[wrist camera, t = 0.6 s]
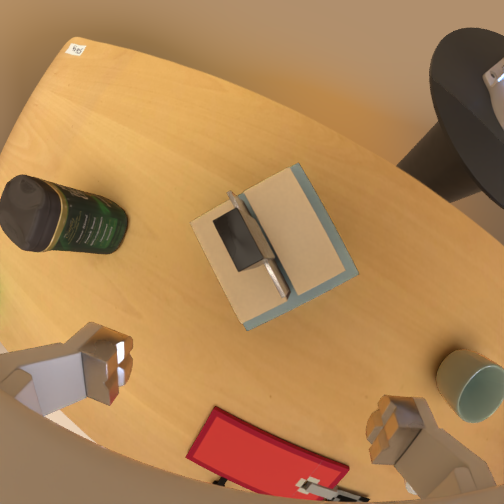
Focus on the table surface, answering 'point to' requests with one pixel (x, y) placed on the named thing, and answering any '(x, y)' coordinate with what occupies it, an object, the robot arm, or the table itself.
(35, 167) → the table surface
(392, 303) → the table surface
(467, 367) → the cup
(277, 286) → the knife
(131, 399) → the table surface
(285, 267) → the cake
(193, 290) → the table surface
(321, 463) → the red board with handle
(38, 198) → the coffee jar
